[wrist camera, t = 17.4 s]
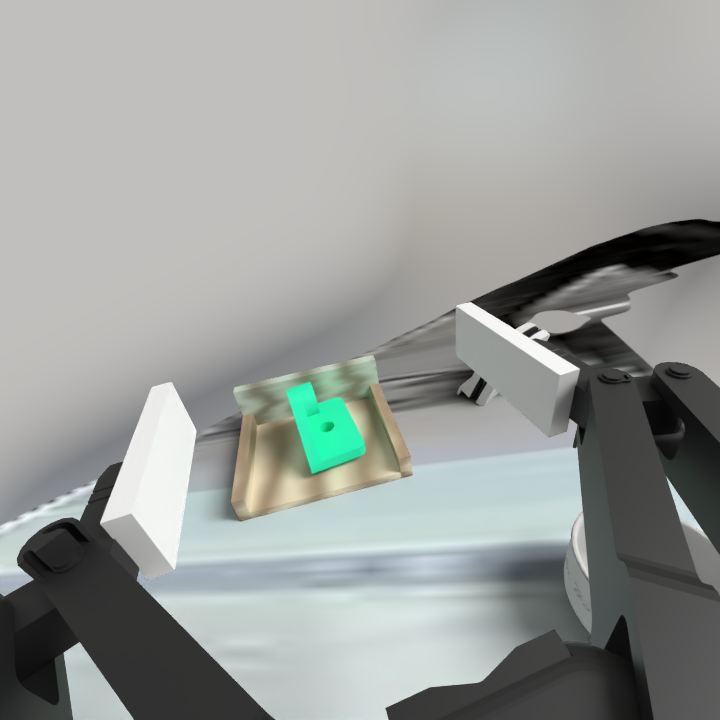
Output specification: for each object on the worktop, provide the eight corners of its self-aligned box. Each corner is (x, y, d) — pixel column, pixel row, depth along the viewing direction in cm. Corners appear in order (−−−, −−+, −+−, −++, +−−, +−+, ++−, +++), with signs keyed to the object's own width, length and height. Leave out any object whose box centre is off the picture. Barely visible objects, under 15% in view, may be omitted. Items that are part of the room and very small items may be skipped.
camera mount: (368, 459, 48) (357, 398, 42) (313, 479, 46) (294, 419, 41) (343, 408, 58) (331, 354, 52) (297, 424, 56) (280, 369, 51)
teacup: (549, 542, 36) (560, 489, 32) (681, 562, 33) (712, 507, 29) (580, 730, 25) (603, 687, 21) (786, 791, 22) (861, 754, 17)
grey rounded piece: (509, 350, 66) (532, 307, 59) (532, 365, 64) (559, 322, 57) (454, 394, 58) (473, 350, 51) (478, 413, 56) (502, 370, 49)
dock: (240, 521, 44) (216, 476, 40) (250, 426, 59) (234, 387, 55) (412, 475, 46) (407, 428, 42) (379, 394, 61) (372, 355, 57)
